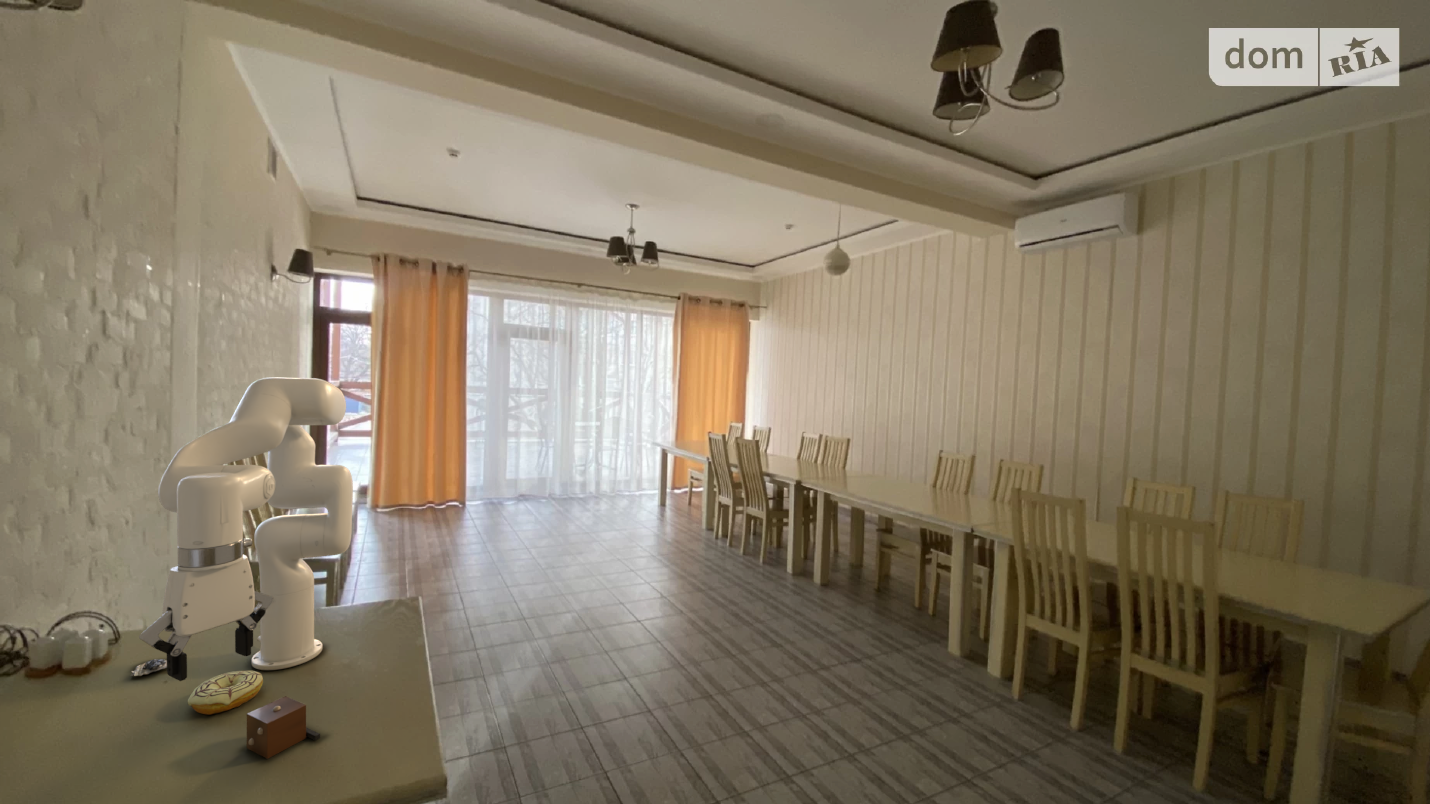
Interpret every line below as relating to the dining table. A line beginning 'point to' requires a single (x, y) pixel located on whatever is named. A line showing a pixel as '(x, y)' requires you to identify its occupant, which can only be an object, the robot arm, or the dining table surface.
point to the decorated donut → (225, 691)
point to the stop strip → (312, 734)
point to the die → (276, 726)
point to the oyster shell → (150, 667)
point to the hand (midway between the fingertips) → (212, 664)
